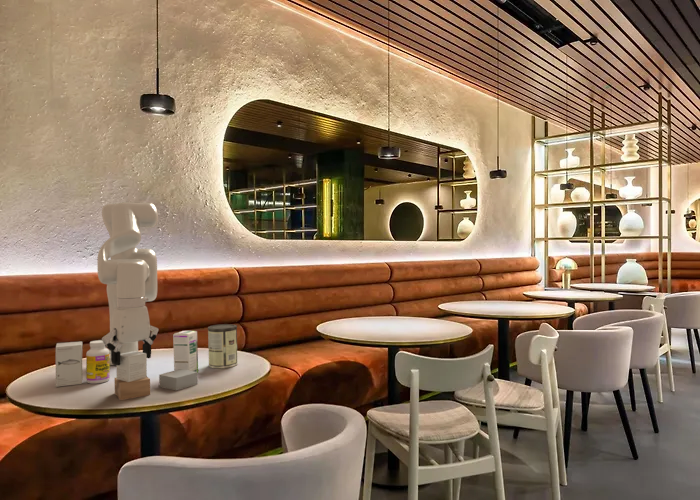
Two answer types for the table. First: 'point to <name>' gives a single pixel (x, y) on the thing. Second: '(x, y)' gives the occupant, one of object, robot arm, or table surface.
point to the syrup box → (185, 351)
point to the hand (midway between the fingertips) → (131, 361)
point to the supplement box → (68, 363)
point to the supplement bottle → (97, 363)
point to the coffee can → (222, 345)
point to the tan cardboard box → (132, 388)
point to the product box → (132, 366)
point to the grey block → (178, 379)
